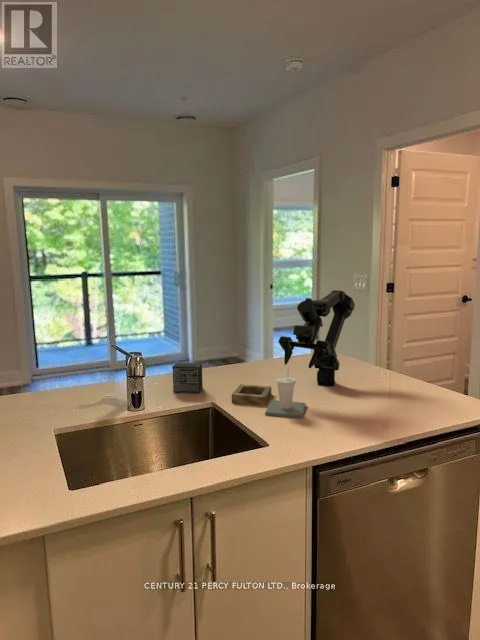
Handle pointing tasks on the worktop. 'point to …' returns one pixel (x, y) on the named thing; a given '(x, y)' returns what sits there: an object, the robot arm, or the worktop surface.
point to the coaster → (293, 412)
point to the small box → (187, 377)
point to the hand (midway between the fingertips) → (297, 365)
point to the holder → (251, 394)
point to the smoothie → (285, 391)
